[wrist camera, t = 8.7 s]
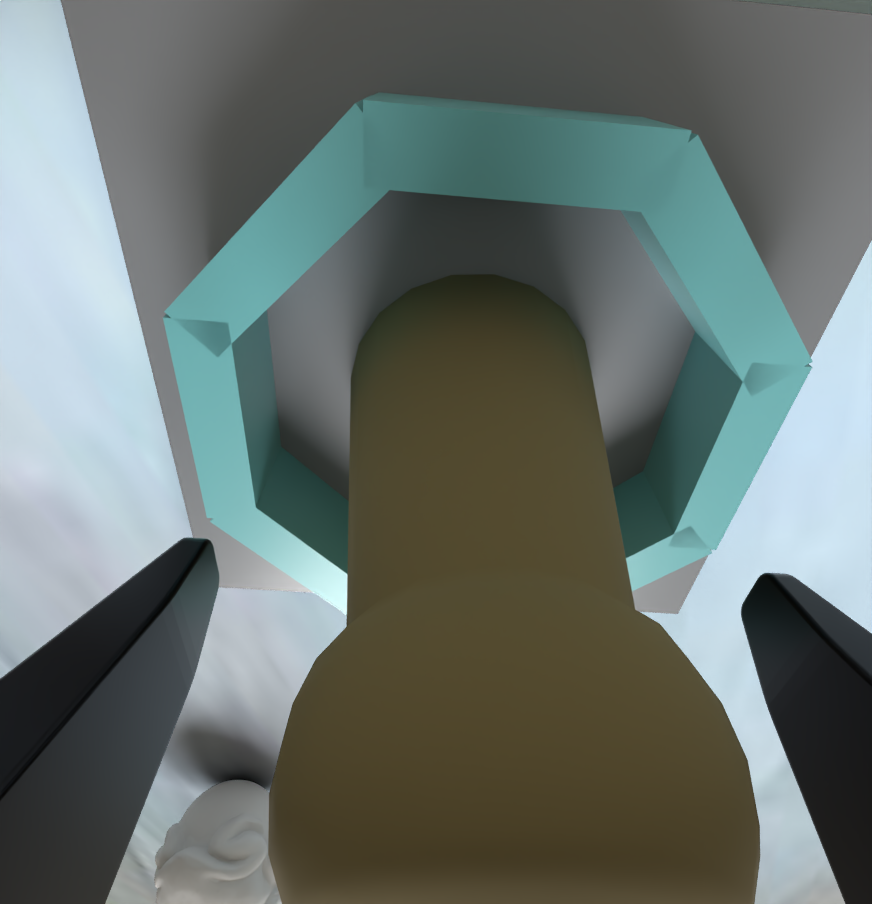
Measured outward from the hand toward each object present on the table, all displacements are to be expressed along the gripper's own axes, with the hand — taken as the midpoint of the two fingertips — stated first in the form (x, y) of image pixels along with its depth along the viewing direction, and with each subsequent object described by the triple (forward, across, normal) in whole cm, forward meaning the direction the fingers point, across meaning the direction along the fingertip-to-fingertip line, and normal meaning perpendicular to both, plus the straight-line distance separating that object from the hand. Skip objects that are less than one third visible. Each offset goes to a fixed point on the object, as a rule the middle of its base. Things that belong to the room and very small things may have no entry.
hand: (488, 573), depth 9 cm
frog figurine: (+7, +9, +25) cm, 28 cm away
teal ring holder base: (+7, 0, 0) cm, 7 cm away
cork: (+6, 0, 0) cm, 6 cm away
